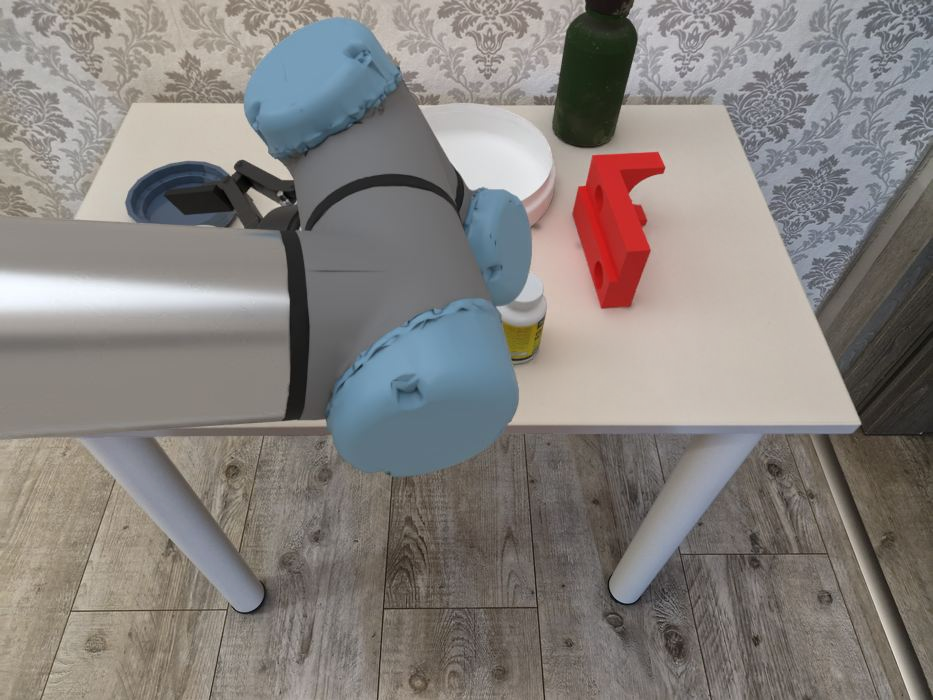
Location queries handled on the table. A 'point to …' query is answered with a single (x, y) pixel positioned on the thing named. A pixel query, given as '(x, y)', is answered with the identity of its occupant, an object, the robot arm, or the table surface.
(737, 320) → the table surface
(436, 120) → the round white tray
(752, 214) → the table surface
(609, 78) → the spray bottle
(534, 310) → the pill bottle
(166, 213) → the bowl
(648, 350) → the table surface
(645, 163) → the bracket
